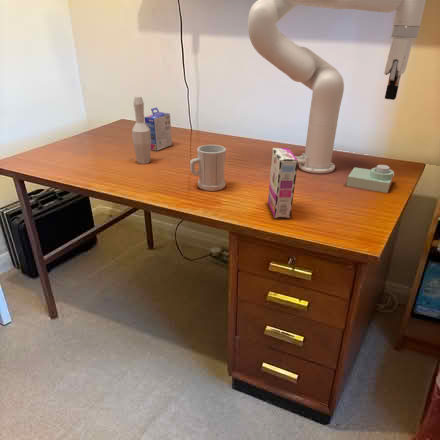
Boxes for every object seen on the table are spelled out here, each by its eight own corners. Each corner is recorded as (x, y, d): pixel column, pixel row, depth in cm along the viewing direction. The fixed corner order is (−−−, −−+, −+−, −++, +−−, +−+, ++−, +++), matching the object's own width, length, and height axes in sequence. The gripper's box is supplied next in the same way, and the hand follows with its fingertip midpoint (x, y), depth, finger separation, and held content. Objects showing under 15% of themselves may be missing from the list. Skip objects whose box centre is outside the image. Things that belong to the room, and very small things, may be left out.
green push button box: (346, 185, 141) (348, 170, 139) (352, 176, 149) (355, 161, 146) (387, 193, 137) (391, 177, 134) (392, 182, 144) (395, 168, 141)
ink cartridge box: (162, 143, 179) (159, 105, 171) (172, 145, 176) (170, 107, 168) (146, 148, 172) (143, 110, 164) (157, 151, 170) (154, 111, 161)
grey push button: (374, 172, 138) (375, 167, 137) (376, 169, 141) (377, 163, 140) (387, 175, 137) (388, 169, 136) (389, 171, 140) (390, 165, 139)
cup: (213, 195, 134) (213, 156, 127) (188, 189, 138) (187, 151, 131) (230, 184, 141) (231, 147, 134) (207, 179, 145) (206, 142, 138)
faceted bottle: (135, 164, 156) (128, 99, 143) (134, 159, 161) (128, 95, 149) (153, 163, 157) (148, 98, 145) (151, 158, 162) (146, 94, 150)
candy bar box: (292, 218, 120) (298, 159, 111) (274, 219, 120) (279, 160, 111) (283, 202, 130) (289, 147, 120) (267, 203, 129) (271, 147, 120)
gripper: (396, 30, 137) (383, 93, 147) (386, 33, 126) (372, 101, 136) (421, 32, 134) (406, 96, 144) (413, 35, 123) (397, 104, 133)
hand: (390, 98), depth 140 cm, fingers closed
